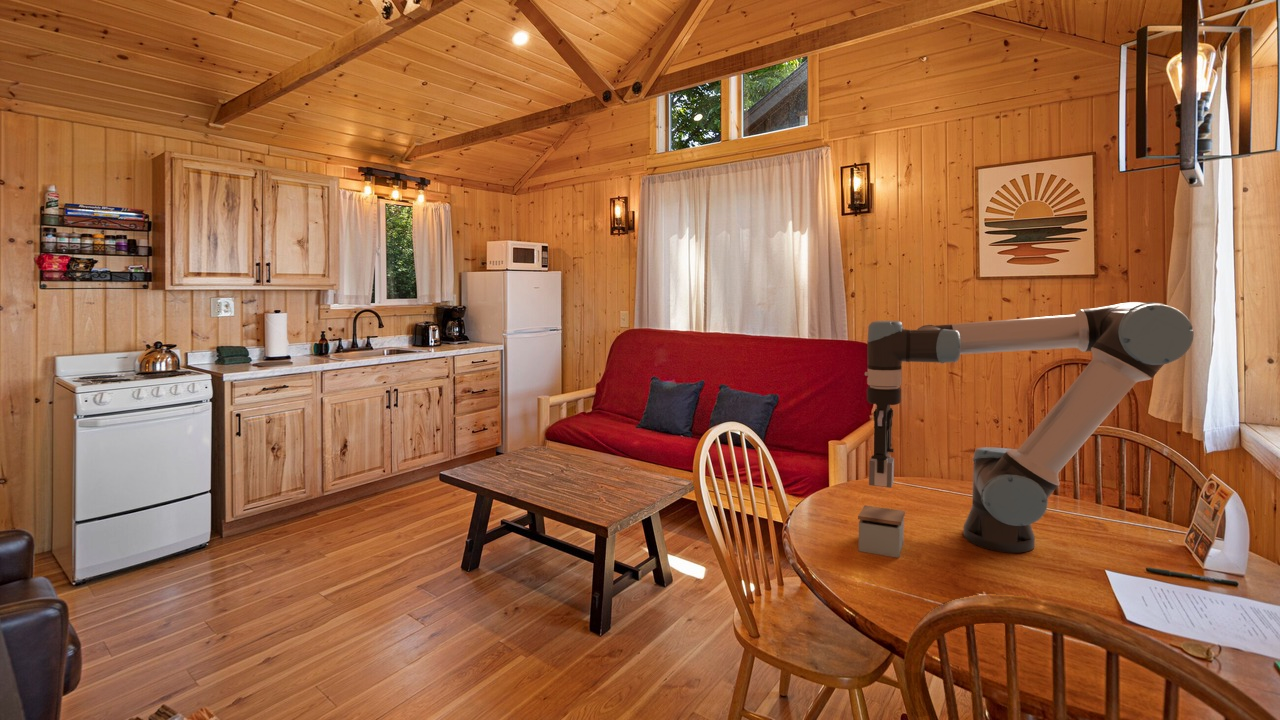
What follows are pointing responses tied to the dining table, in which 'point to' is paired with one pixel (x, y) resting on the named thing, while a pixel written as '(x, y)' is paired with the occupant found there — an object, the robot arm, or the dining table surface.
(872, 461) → the slate block
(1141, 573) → the dining table surface
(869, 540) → the box
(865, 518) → the lid
